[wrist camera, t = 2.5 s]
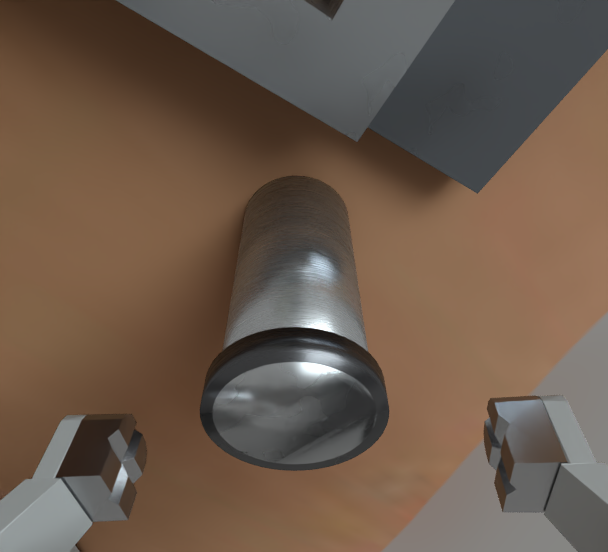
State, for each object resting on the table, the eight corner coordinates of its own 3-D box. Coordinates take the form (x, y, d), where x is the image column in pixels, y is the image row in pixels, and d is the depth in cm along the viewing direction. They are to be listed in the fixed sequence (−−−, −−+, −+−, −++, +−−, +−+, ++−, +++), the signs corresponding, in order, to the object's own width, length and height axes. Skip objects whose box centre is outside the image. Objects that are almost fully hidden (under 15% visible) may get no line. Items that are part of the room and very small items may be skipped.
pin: (316, 286, 22) (324, 487, 14) (216, 240, 20) (170, 438, 13) (380, 204, 19) (428, 396, 12) (272, 145, 18) (254, 323, 11)
